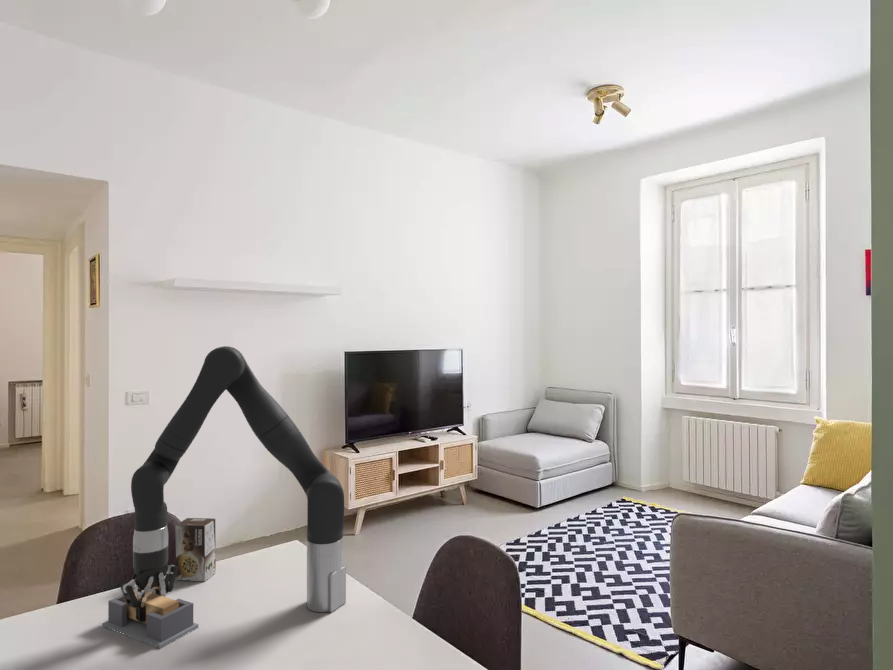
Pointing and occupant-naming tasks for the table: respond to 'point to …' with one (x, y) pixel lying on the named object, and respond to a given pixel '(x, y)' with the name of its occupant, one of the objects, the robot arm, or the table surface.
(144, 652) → the table surface
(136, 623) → the end caps
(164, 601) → the wooden block
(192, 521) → the coffee box
